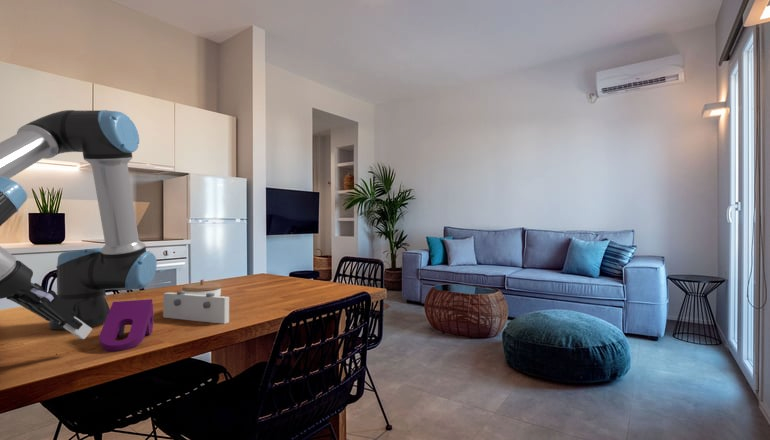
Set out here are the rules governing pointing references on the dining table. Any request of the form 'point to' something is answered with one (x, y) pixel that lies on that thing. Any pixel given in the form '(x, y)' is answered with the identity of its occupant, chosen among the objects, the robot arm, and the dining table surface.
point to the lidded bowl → (203, 288)
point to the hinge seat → (196, 307)
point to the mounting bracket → (127, 314)
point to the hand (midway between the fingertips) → (86, 333)
